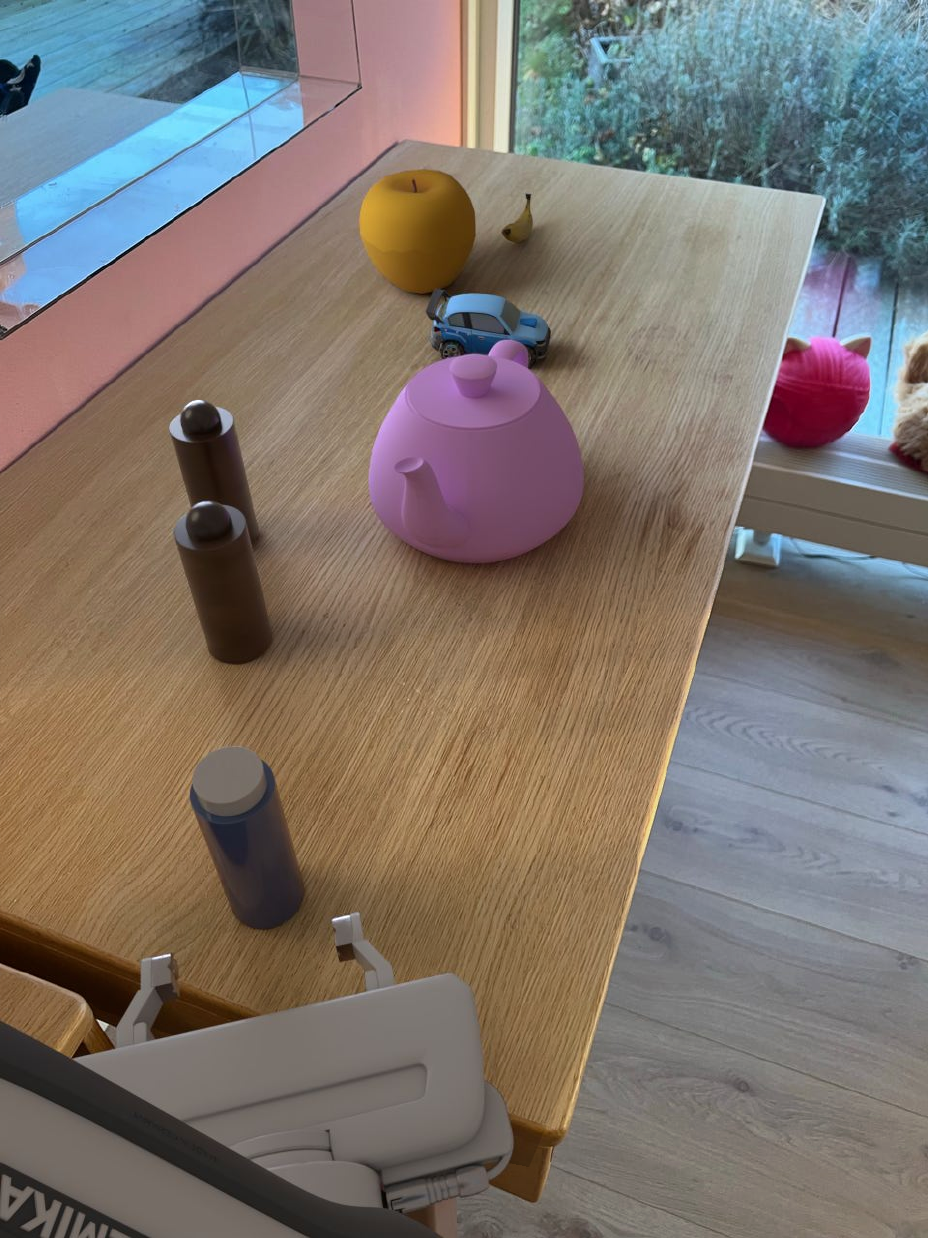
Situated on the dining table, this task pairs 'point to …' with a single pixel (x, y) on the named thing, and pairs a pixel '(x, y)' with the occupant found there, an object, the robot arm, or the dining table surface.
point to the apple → (418, 229)
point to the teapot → (476, 460)
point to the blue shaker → (247, 836)
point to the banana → (520, 225)
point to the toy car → (484, 325)
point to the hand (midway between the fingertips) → (254, 939)
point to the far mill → (212, 459)
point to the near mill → (224, 581)
